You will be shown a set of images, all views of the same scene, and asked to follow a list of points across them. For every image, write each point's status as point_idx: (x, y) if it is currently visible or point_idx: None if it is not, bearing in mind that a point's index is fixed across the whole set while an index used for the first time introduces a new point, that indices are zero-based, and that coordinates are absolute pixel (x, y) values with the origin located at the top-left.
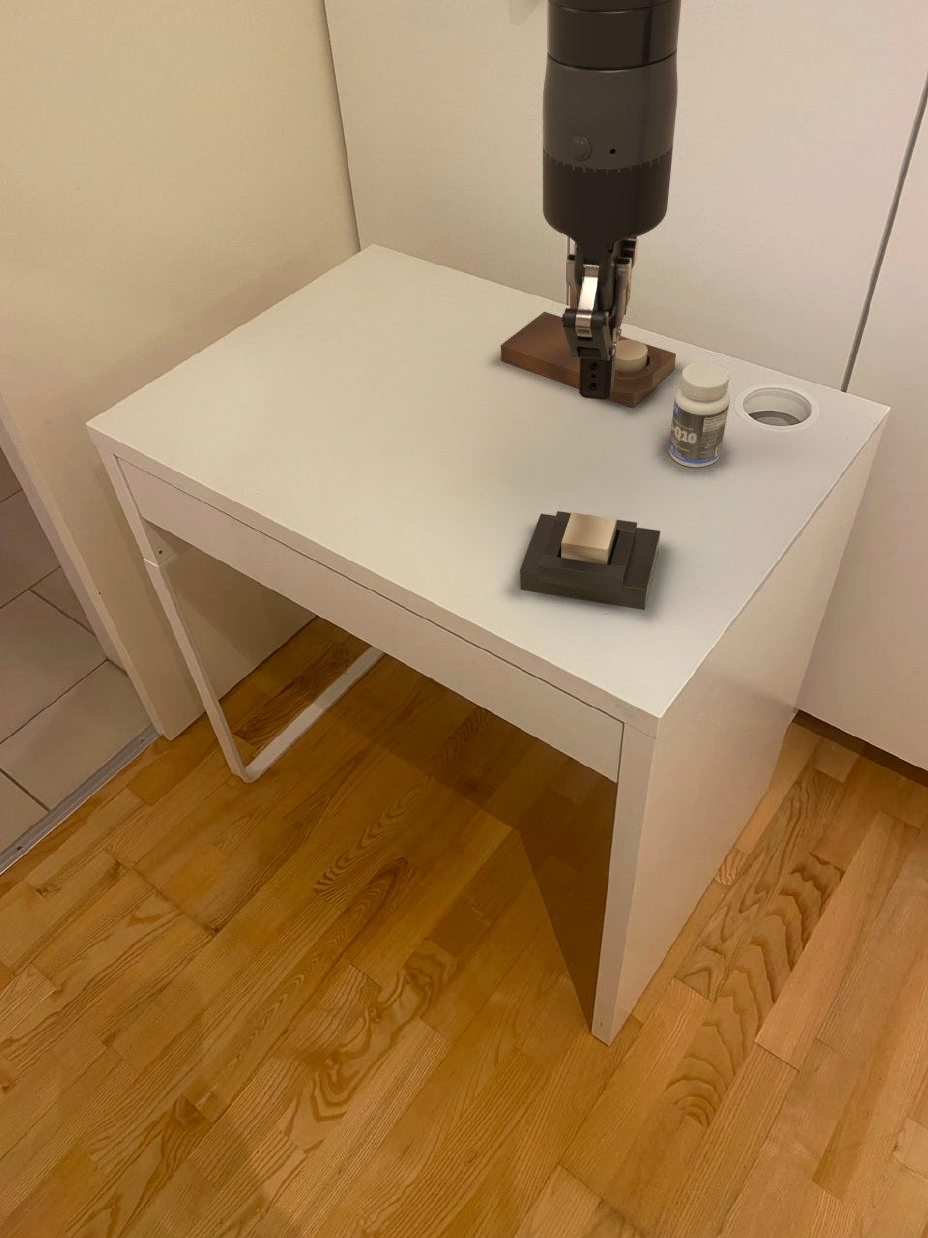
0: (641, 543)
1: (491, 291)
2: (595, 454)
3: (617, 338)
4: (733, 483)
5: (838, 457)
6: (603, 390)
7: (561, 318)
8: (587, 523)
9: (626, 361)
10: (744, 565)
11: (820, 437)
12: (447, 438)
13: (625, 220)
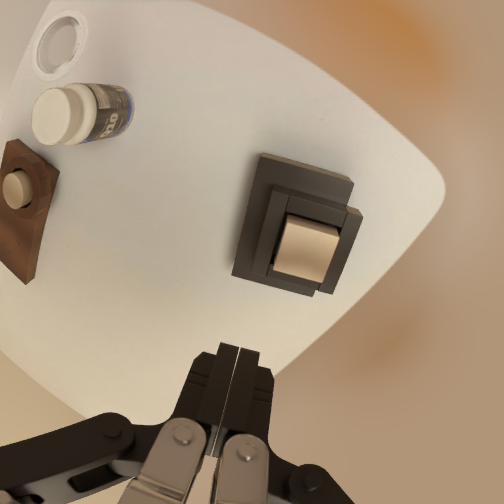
0: (281, 179)
1: None
2: (120, 207)
3: (201, 434)
4: (156, 71)
5: None
6: (271, 380)
7: None
8: (293, 255)
9: (24, 192)
10: (287, 68)
11: (97, 2)
12: (122, 324)
13: None
